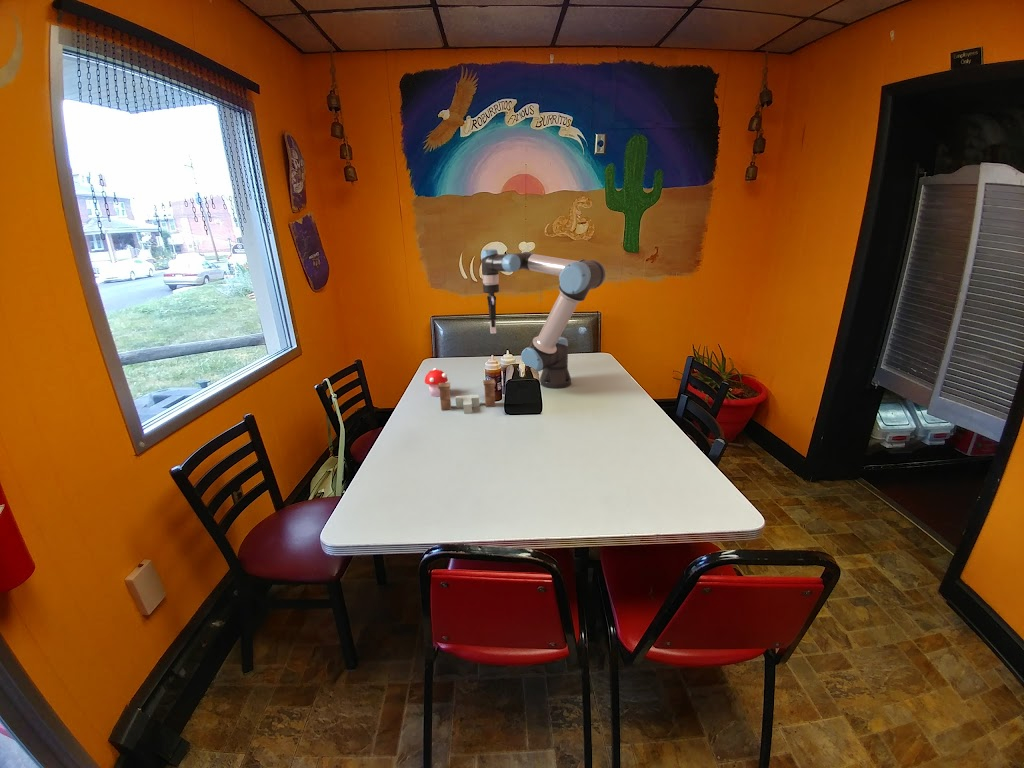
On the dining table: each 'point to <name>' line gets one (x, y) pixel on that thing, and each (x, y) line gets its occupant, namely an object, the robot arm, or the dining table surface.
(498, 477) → the dining table surface
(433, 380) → the mushroom
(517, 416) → the dining table surface
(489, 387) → the post
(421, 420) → the dining table surface
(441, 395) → the post
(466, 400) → the t block
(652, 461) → the dining table surface
